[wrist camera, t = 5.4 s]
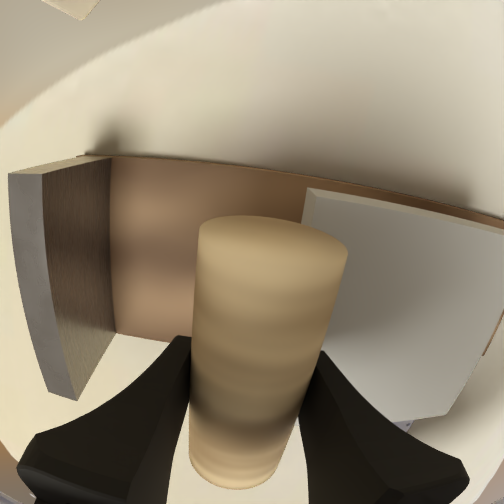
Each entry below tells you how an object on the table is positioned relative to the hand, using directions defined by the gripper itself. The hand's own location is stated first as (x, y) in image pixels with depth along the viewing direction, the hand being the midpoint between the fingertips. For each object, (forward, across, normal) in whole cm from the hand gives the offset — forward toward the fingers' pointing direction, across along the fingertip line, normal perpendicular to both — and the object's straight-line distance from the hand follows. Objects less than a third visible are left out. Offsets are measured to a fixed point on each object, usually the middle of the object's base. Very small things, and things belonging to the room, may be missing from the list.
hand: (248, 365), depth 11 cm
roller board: (+10, -6, 0) cm, 11 cm away
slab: (+4, -8, 0) cm, 9 cm away
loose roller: (+1, 0, 0) cm, 1 cm away
